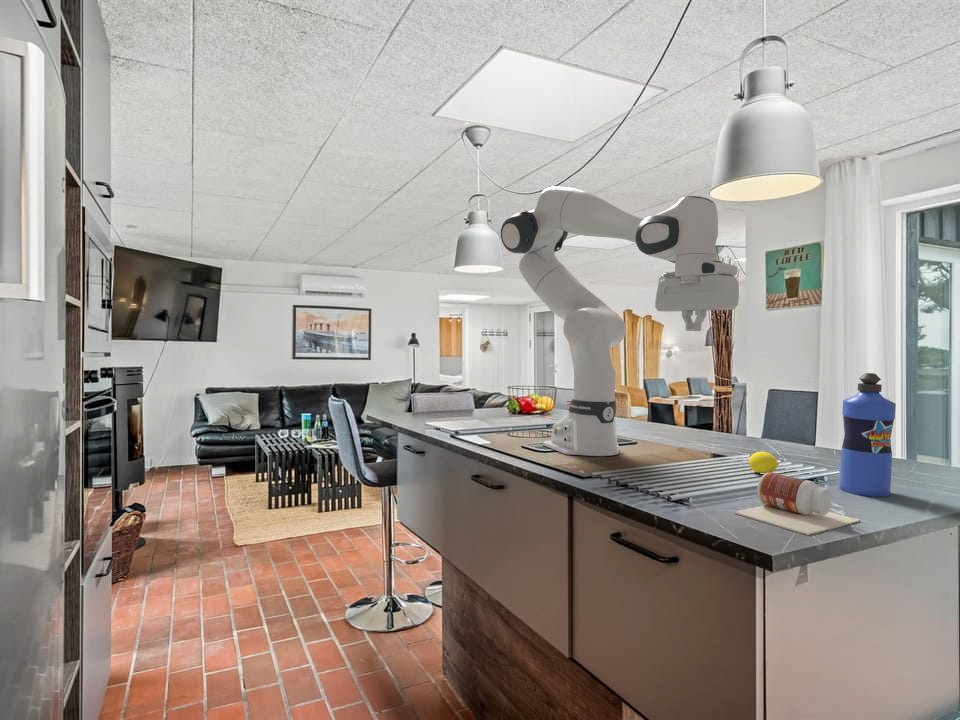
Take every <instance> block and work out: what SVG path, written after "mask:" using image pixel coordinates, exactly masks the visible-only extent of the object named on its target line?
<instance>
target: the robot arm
mask: <svg viewBox="0 0 960 720" xmlns="http://www.w3.org/2000/svg"><path fill="white" fill-rule="evenodd" d="M568 234H573V235H577V236H584V237H596V238H610V239H617V240H618V239H620V240H625V241H628V242H629V241H630V242H631V243H634V244H635V243H636V247H637V249H638V250H639V251H640V252H641V253H643V254H644V255H647V256H649V257H652V258H657V259H659V260H660V259H661V260H664V261H665V260H666V261H668V262H670V263H673V264H674V271H671V272H669V271H667V272H664V273H662V275H661V276H660V277H659V278H658V284H657V289H656V294H655V295H656V296H655V301H654V303H655V306H654V307H655V309H656V310H657V312H663V313H665V312H667V313H668V312H669V313H670V312H681V317H682V320H683V321H684V324H685V331H686V332H701V331H702V323H703V322H704V321H705V319H706V316H707V311H727V310H728V311H729V310H730V311H731V310H733V311H734V310H735V309H736V308H737V307H738V306H739V301H740V300H739V298H740V295H739V293H740V291H739V282H738V279H737V277H736V276H737V275H738V267H737V266H736V265H733V264H730V263H726V262H723V261H720V260H718V252H717V248H716V247H717V246H716V245H717V240H718V237H719V215H718V208H717V205H716V203H715V202H714V201H713V200H711V199H710V198H707V197H703V196H695V195H686V196H683V197H680V199H679V200H678V201H677V202H676V203H675V204H674V205H672V206H670V208H667V209H666V210H664V211H661V212H658V213H657V214H656V213H655V214H654V215H649V216H647V217H645V218H643V217H640V216H636V215H634V214H633V215H632V214H630V213H628V212H626V211H624V210H622V209H620V208H618V207H617V206H615V205H614V204H611V203H610V202H608V201H606V200H604V199H603V198H600V197H599V196H597V195H595V194H593V193H590V192H587V191H585V190H581V189H577V188H573V187H572V188H571V187H565V186H564V187H563V186H551V187H548V188H546V189H544V190H543V191H542V192H541V193H540V195H539V197H538V199H537V203H536V207H534V209H532V210H527V209H526V210H523V211H520V212H518V213H516V214H513V215H511V216H510V217H508V218H507V219H506V220H504V222H503V223H502V225H501V228H500V239H501V243H502V244H503V246H504V247H505V249H506V250H507V251H508V252H510V253H514V254H523V255H522V257H521V258H520V260H519V266H518V268H519V271H520V274H521V275H522V277H523V279H524V280H525V282H526V284H527V285H528V286H529V287H530V288H531V290H532V291H533V292H534V293H535V295H536V296H538V298H539V299H540V300H541V301H542V302H543V303H544V304H545V306H547V308H548V309H549V310H550V311H551V312H552V313H553V314H554V315H555V316H557V317H559V319H560V318H561V320H563V321H564V323H563V327H562V328H563V334H564V336H565V339H566V340H567V342H568V344H569V350H570V355H571V360H572V367H573V398H572V400H567V401H566V402H567V404H566V406H569V408H568V412H567V413H566V414H565V415H564V416H562V417H561V418H560V419H559V420H558V421H556V422H555V423H554V424H553V426H552V428H551V434H550V435H551V439H547V440H544V441H543V442H542V445H543V446H544V447H547V448H549V449H552V450H554V451H557V452H559V453H562V454H563V455H574V456H575V455H577V456H588V457H589V456H590V457H607V456H615V455H618V454H619V453H620V445H619V444H618V434H617V421H616V413H617V401H616V400H615V399H616V398H615V397H616V395H615V392H616V369H615V367H614V366H613V362H612V357H611V352H610V349H612V348H614V347H615V346H617V345H618V344H620V343H621V342H622V341H623V340H624V338H625V336H626V333H627V326H626V323H625V321H624V319H623V318H622V317H621V316H620V315H619V314H617V313H616V312H615V311H614V310H613V309H612V308H611V307H609V306H608V305H607V304H606V303H605V302H604V301H603V300H601V299H600V298H599V297H598V296H597V295H595V293H593V292H592V291H590V290H589V289H588V288H587V287H585V286H584V284H582V283H581V282H580V281H579V280H578V279H577V278H576V277H575V276H574V275H573V274H572V272H571V271H569V269H568V268H567V267H566V266H564V264H563V263H562V262H561V261H559V260H558V258H557V257H556V252H559V251H560V250H561V249H562V248H563V244H564V242H565V241H566V240H567V237H568ZM693 313H694V315H695V316H696V317H695V320H694V321H693V319H692V316H693Z"/></svg>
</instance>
